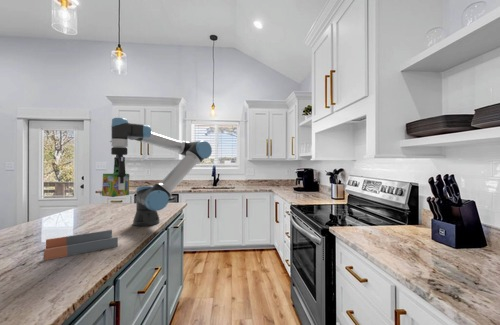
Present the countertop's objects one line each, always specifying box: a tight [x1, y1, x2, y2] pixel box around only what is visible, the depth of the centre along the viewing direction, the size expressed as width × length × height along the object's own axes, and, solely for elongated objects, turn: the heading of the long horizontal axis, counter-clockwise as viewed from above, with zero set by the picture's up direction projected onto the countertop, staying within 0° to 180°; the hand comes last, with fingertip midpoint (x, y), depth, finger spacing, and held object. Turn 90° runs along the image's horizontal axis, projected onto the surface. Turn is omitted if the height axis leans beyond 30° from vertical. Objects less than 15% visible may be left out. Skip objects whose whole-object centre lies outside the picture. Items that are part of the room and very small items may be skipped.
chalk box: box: [101, 167, 130, 198], centre depth 124 cm, size 9×9×15 cm
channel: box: [43, 229, 119, 261], centre depth 105 cm, size 25×16×4 cm, turn 129°
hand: (119, 188), depth 125 cm, fingers closed on chalk box, 11 cm apart
